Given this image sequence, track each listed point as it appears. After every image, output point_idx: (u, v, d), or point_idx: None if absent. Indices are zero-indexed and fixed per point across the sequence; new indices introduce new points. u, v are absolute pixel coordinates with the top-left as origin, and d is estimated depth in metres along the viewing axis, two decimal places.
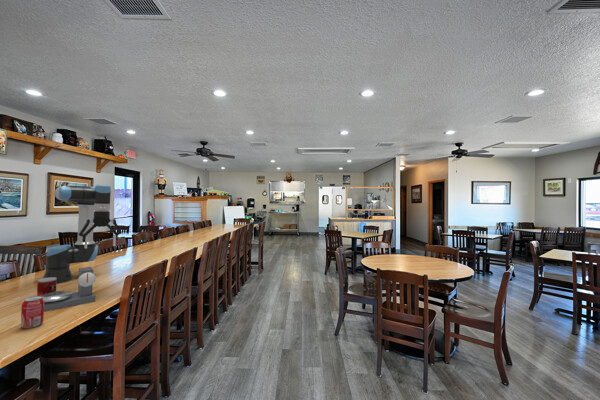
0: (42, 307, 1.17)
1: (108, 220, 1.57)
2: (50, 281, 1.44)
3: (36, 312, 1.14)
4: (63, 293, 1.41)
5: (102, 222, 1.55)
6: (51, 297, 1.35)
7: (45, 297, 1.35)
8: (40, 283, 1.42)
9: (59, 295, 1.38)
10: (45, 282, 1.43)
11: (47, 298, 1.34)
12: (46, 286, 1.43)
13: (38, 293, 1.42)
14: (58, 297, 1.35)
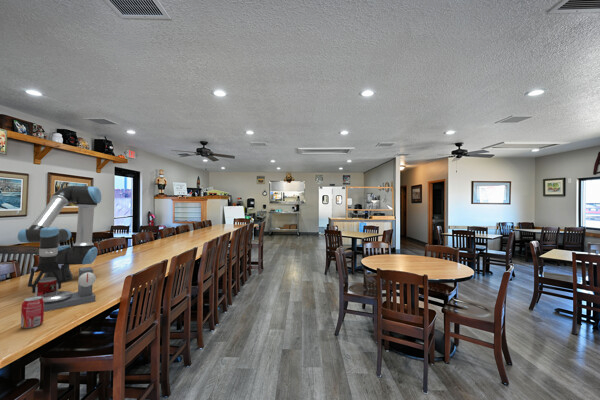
0: (42, 307, 1.17)
1: (56, 265, 1.48)
2: (50, 281, 1.44)
3: (36, 312, 1.14)
4: (63, 293, 1.41)
5: (48, 267, 1.45)
6: (51, 297, 1.35)
7: (45, 297, 1.35)
8: (40, 283, 1.42)
9: (59, 295, 1.38)
10: (45, 282, 1.43)
11: (47, 298, 1.34)
12: (46, 286, 1.43)
13: (38, 293, 1.42)
14: (58, 297, 1.35)
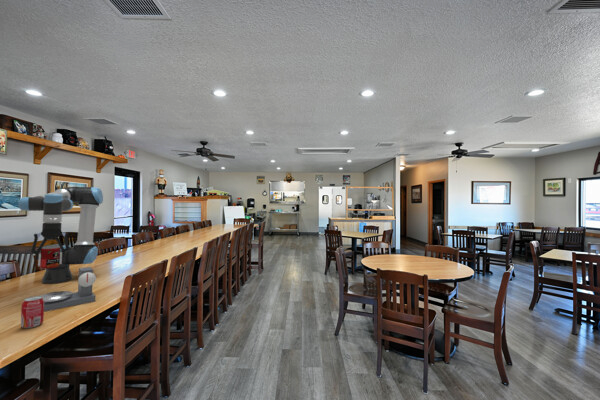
0: (42, 307, 1.17)
1: (59, 232, 1.45)
2: (53, 248, 1.41)
3: (36, 312, 1.14)
4: (63, 293, 1.41)
5: (52, 234, 1.43)
6: (51, 297, 1.35)
7: (45, 297, 1.35)
8: (44, 250, 1.39)
9: (59, 295, 1.38)
10: (48, 249, 1.40)
11: (47, 298, 1.34)
12: (49, 253, 1.40)
13: (41, 260, 1.39)
14: (58, 297, 1.35)
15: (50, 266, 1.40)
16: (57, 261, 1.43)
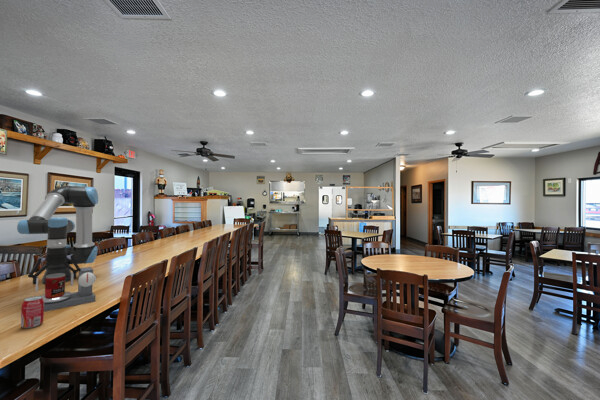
0: (42, 307, 1.17)
1: (64, 257, 1.40)
2: (59, 277, 1.36)
3: (36, 312, 1.14)
4: None
5: (57, 260, 1.38)
6: (51, 298, 1.35)
7: None
8: (49, 279, 1.34)
9: None
10: (53, 278, 1.35)
11: (47, 298, 1.34)
12: (54, 282, 1.35)
13: (46, 290, 1.34)
14: (58, 298, 1.35)
15: (55, 296, 1.35)
16: (62, 290, 1.38)
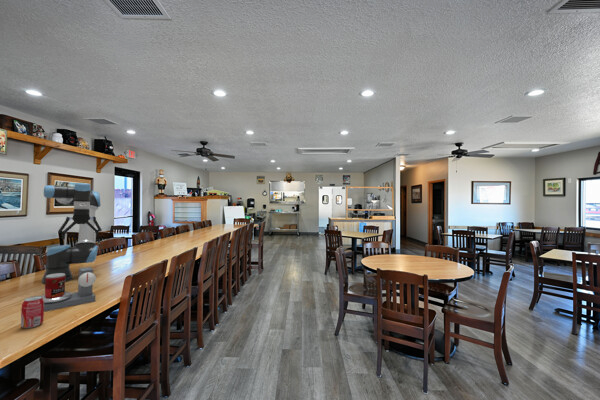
0: (42, 307, 1.17)
1: (88, 218, 1.61)
2: (59, 277, 1.36)
3: (36, 312, 1.14)
4: None
5: (82, 219, 1.59)
6: (51, 298, 1.35)
7: None
8: (49, 279, 1.34)
9: None
10: (53, 278, 1.35)
11: (47, 298, 1.34)
12: (54, 282, 1.35)
13: (46, 290, 1.34)
14: (58, 298, 1.35)
15: (55, 296, 1.35)
16: (62, 290, 1.38)
